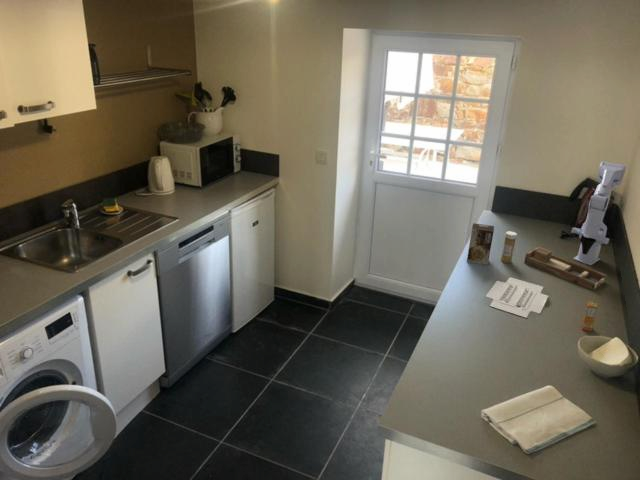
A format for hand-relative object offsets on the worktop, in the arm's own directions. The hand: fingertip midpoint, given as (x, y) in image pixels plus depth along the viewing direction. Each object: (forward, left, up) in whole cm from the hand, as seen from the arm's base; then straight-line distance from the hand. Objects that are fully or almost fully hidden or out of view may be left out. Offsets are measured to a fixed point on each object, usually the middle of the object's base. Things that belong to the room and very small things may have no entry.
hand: (584, 253), depth 223 cm
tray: (+39, -6, -10) cm, 41 cm away
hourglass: (+40, +20, -10) cm, 46 cm away
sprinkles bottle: (+15, -26, -10) cm, 32 cm away
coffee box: (+25, -34, -10) cm, 43 cm away
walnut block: (+5, -15, -7) cm, 17 cm away
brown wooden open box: (+4, -5, -9) cm, 12 cm away
